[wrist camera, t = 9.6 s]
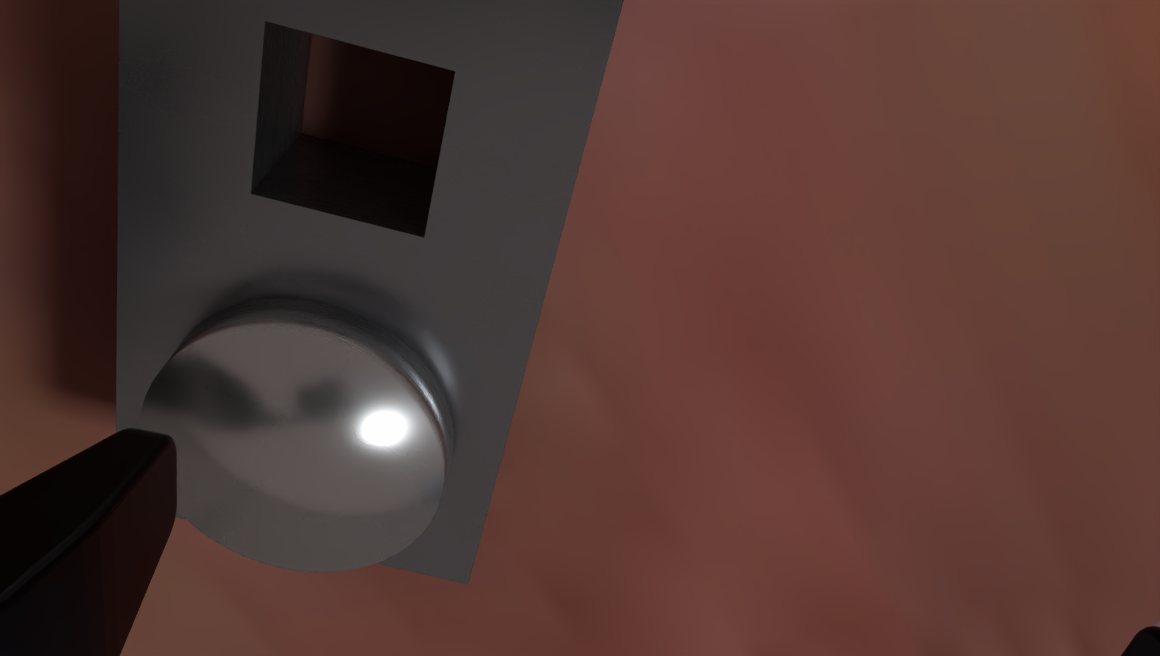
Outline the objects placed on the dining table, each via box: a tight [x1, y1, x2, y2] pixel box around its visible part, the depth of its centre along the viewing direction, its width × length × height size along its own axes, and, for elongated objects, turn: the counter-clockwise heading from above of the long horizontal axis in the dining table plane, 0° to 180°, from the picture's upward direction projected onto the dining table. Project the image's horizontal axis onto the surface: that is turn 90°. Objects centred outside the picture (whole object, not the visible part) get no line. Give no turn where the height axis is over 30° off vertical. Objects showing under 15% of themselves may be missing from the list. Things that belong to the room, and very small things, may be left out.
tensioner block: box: [116, 0, 624, 584], centre depth 20 cm, size 8×14×4 cm, turn 166°
